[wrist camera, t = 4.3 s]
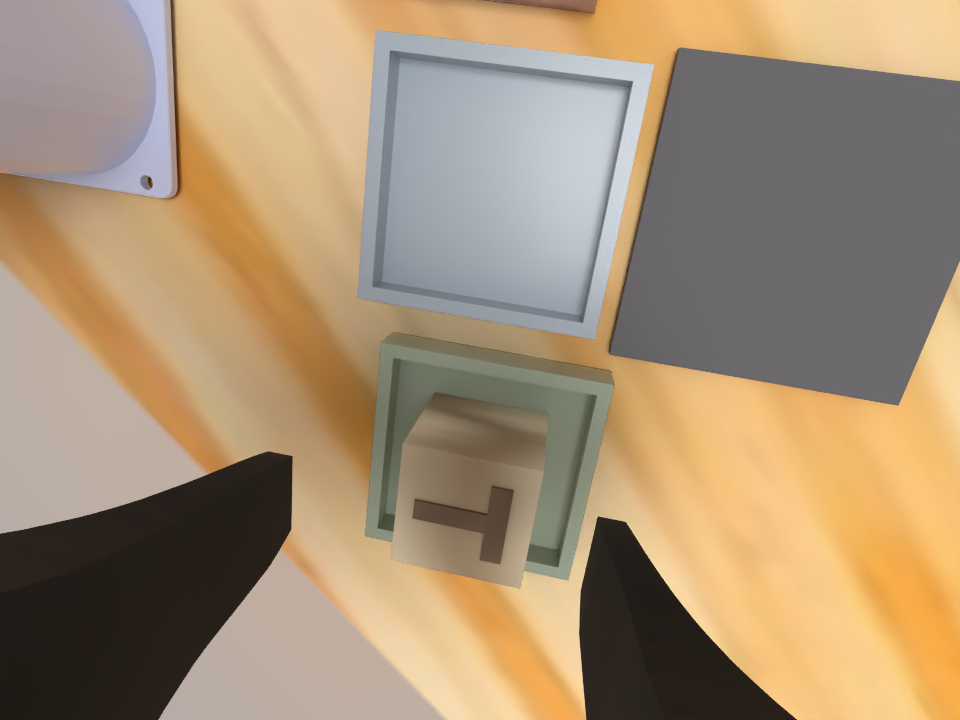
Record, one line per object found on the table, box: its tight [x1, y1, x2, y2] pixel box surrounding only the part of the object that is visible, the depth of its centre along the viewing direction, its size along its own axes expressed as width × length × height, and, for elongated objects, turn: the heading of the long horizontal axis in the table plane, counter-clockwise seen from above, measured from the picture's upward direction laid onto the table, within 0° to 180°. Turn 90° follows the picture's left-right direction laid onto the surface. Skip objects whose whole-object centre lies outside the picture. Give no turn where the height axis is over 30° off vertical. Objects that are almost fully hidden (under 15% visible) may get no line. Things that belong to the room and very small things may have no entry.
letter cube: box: [391, 392, 549, 589], centre depth 20 cm, size 4×4×5 cm
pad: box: [609, 48, 960, 405], centre depth 18 cm, size 10×10×1 cm
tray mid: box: [358, 30, 654, 340], centre depth 19 cm, size 8×8×2 cm
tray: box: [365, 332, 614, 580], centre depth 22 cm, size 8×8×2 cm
